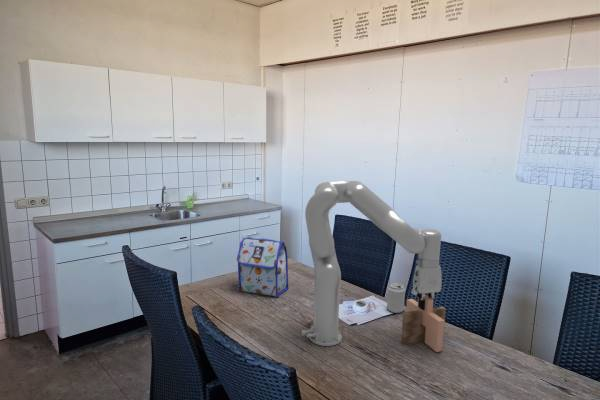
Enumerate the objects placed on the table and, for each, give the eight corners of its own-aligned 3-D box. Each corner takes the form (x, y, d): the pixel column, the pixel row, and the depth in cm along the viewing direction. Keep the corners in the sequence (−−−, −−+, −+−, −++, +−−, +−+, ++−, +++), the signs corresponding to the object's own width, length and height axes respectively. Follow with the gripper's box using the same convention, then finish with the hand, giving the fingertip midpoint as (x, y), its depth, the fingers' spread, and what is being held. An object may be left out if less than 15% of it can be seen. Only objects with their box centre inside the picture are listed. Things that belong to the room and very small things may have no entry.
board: (404, 344, 153) (406, 314, 151) (401, 341, 155) (403, 312, 153) (443, 337, 159) (445, 308, 157) (440, 334, 161) (442, 306, 159)
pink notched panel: (442, 350, 148) (445, 307, 145) (436, 352, 147) (440, 308, 144) (410, 326, 167) (413, 287, 164) (405, 327, 166) (407, 287, 163)
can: (404, 314, 178) (405, 289, 176) (386, 312, 180) (388, 287, 178) (403, 307, 185) (404, 282, 183) (386, 306, 187) (388, 281, 185)
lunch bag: (234, 293, 198) (233, 240, 193) (249, 282, 213) (249, 232, 209) (276, 300, 190) (277, 246, 186) (289, 288, 206) (290, 237, 201)
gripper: (416, 267, 146) (412, 315, 149) (452, 263, 151) (448, 309, 154) (404, 261, 153) (401, 306, 156) (439, 257, 158) (436, 301, 161)
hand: (424, 307), depth 155 cm, fingers closed on pink notched panel, 2 cm apart
